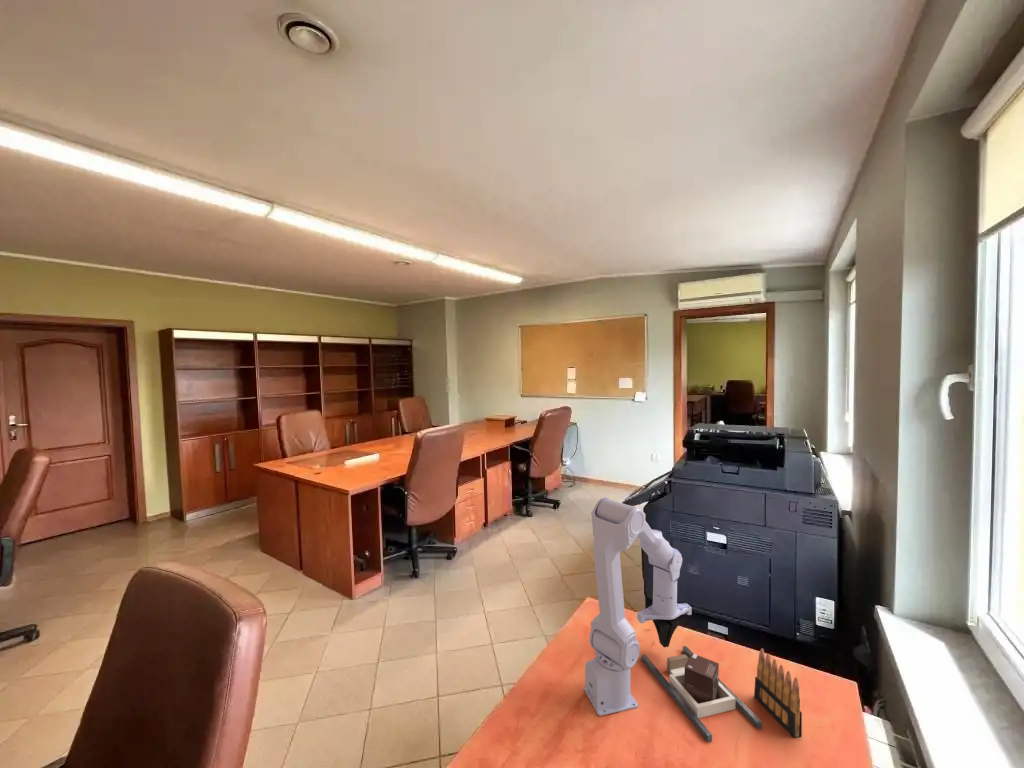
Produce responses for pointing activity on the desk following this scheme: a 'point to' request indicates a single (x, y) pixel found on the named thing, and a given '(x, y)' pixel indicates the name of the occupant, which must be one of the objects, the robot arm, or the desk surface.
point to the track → (686, 708)
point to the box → (701, 678)
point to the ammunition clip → (778, 694)
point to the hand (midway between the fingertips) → (664, 644)
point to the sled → (701, 710)
